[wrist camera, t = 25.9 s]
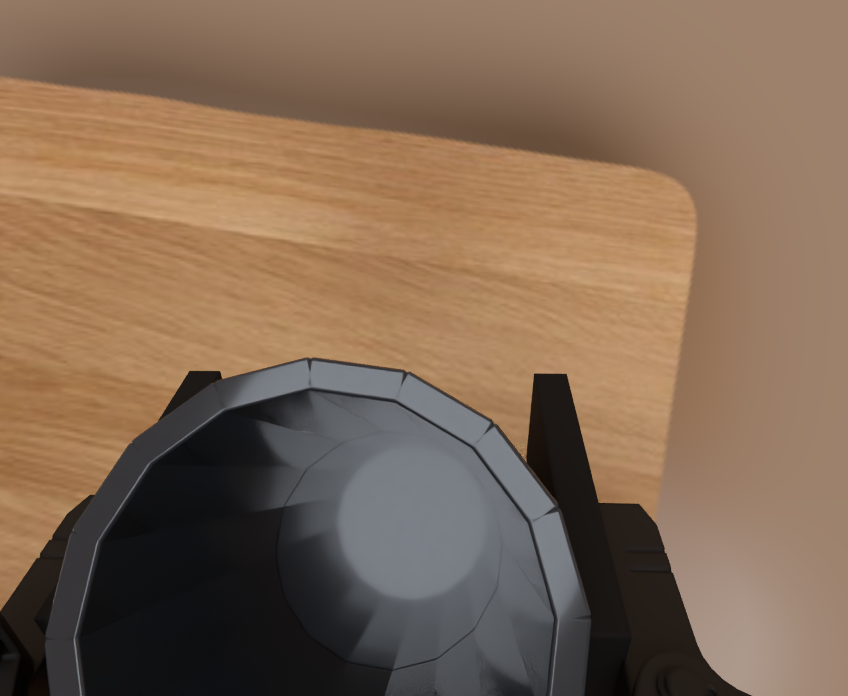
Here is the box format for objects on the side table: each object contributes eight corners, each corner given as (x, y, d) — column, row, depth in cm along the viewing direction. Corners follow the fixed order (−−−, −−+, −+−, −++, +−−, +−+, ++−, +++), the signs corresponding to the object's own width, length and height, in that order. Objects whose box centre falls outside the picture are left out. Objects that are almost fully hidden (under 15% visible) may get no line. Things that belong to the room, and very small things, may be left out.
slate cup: (561, 500, 18) (686, 533, 8) (433, 734, 17) (403, 1091, 7) (351, 374, 19) (242, 272, 9) (219, 588, 18) (-63, 725, 8)
